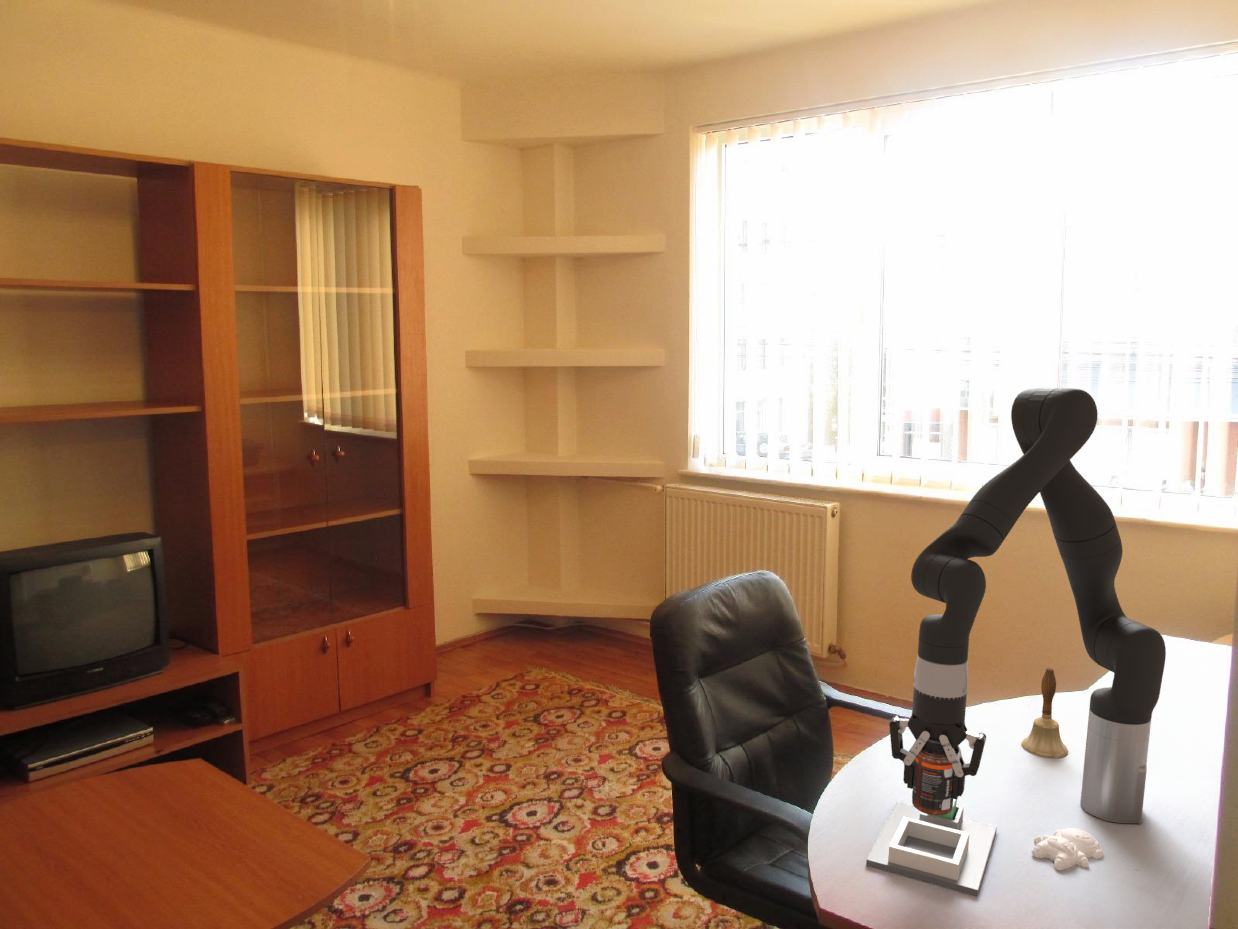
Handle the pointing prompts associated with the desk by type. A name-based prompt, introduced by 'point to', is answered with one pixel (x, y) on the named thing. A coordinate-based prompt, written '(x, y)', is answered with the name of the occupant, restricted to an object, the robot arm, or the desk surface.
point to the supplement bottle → (933, 780)
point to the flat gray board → (934, 848)
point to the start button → (952, 813)
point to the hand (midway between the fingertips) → (932, 791)
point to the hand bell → (1046, 725)
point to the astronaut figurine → (1067, 848)
